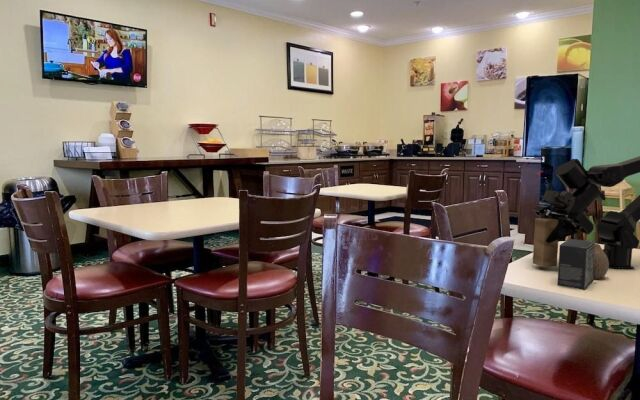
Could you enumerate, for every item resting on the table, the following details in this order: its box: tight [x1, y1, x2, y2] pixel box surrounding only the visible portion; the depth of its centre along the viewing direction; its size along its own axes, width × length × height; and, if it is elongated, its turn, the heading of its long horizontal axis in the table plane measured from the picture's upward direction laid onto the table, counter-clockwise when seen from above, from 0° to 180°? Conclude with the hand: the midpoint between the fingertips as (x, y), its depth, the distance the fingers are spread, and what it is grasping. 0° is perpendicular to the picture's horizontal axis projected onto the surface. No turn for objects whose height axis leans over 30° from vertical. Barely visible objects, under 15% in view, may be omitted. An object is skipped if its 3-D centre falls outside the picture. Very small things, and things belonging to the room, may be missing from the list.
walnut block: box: [532, 217, 560, 268], centre depth 130 cm, size 4×4×13 cm
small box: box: [557, 238, 596, 291], centre depth 117 cm, size 11×6×10 cm, turn 141°
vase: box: [593, 243, 610, 280], centre depth 123 cm, size 7×7×9 cm
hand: (541, 240), depth 130 cm, fingers closed on walnut block, 4 cm apart
